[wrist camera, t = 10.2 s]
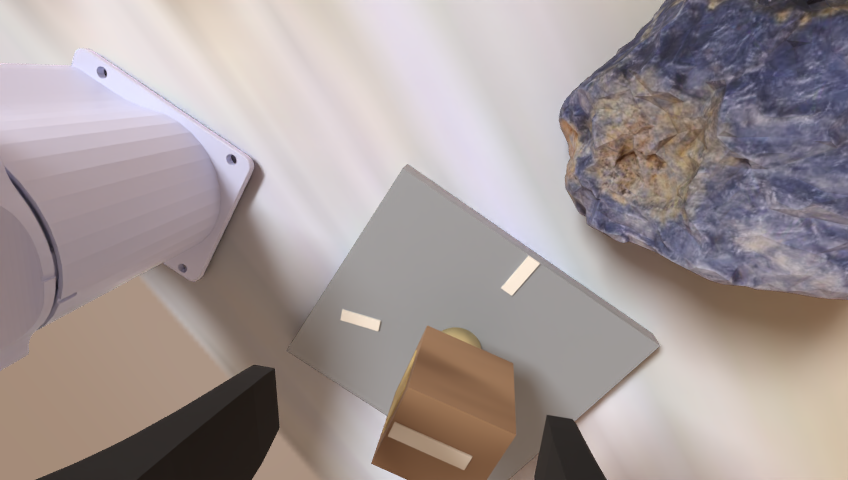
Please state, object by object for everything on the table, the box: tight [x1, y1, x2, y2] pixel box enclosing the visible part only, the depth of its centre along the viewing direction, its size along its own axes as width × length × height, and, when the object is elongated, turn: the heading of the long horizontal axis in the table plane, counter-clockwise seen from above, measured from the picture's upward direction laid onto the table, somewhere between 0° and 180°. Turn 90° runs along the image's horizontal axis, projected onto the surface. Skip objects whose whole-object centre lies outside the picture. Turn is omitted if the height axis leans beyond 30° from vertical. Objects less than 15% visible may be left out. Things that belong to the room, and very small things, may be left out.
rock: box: [559, 0, 848, 300], centre depth 14 cm, size 11×10×10 cm
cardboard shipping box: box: [371, 326, 516, 480], centre depth 17 cm, size 4×4×4 cm
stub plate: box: [287, 164, 660, 480], centre depth 21 cm, size 14×12×3 cm
